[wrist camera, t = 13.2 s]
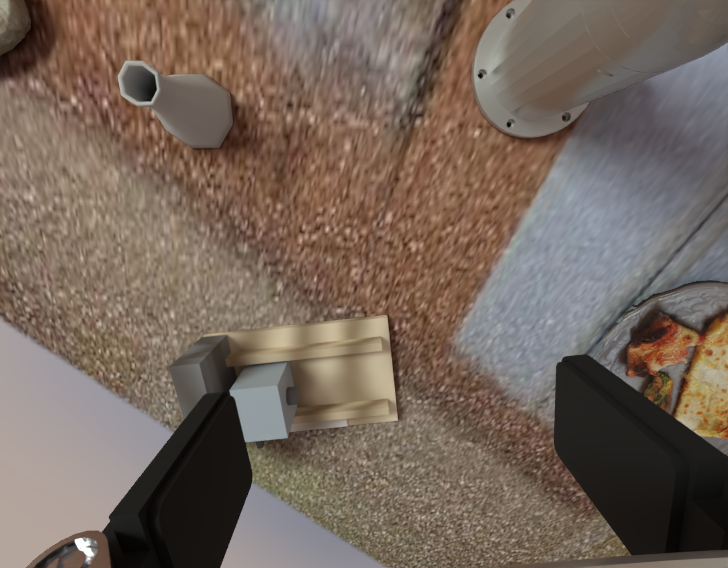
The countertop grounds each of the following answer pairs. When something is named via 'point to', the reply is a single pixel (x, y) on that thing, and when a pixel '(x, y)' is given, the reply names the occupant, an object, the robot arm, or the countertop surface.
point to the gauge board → (302, 369)
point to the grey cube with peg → (266, 401)
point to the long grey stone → (13, 23)
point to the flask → (180, 103)
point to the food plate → (678, 355)
